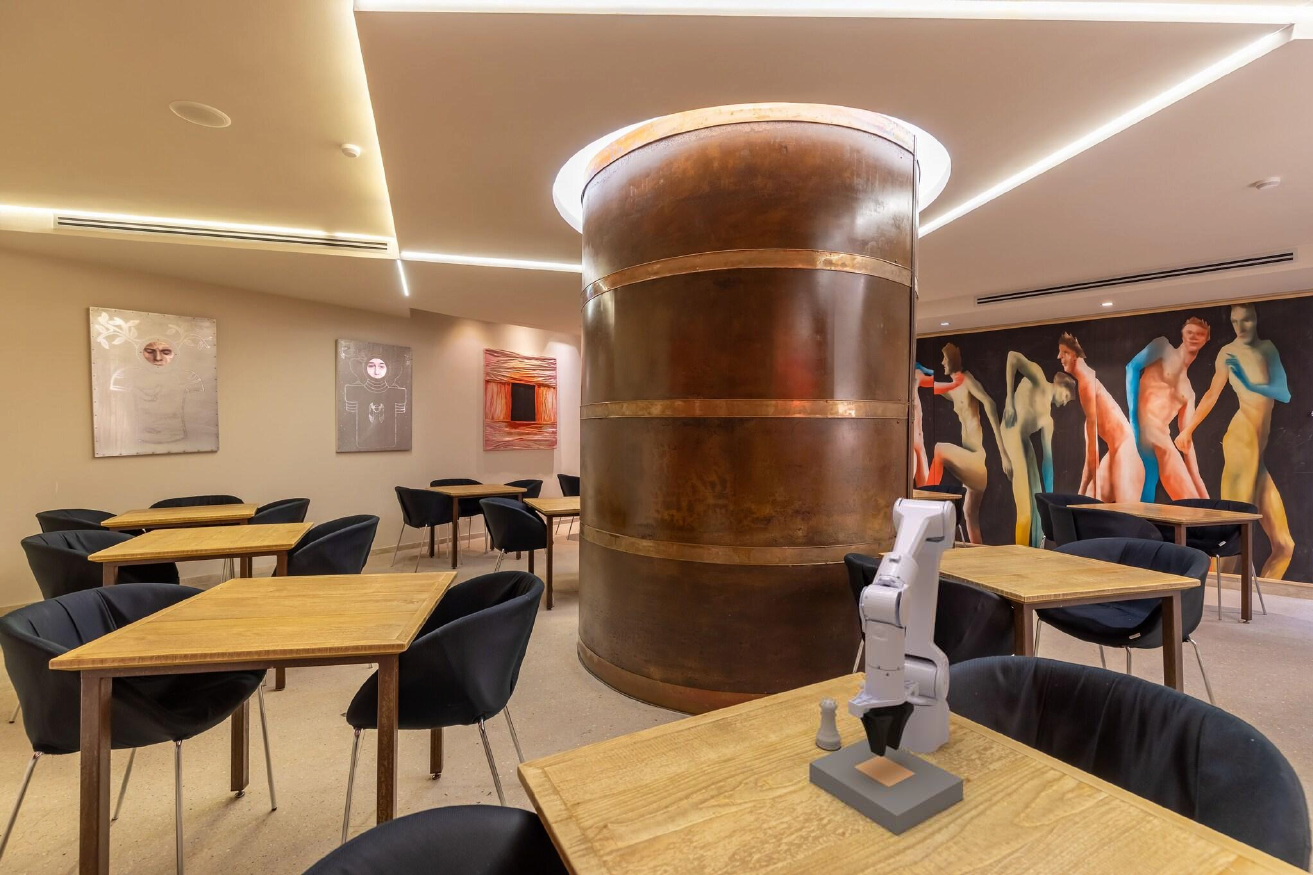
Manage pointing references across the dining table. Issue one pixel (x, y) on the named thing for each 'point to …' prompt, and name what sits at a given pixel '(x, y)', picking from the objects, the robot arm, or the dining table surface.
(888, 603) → the robot arm
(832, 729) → the rook chess piece
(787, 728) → the dining table surface
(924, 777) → the grey flat square slab
